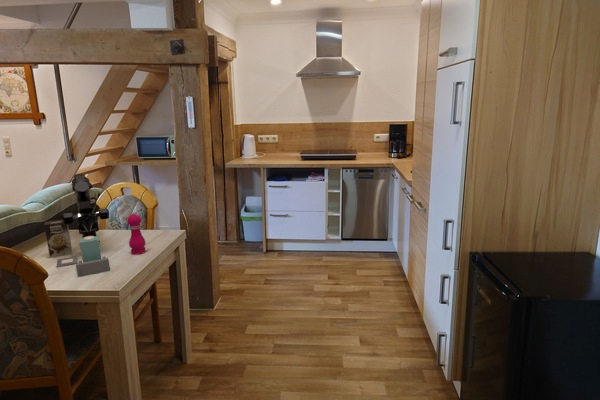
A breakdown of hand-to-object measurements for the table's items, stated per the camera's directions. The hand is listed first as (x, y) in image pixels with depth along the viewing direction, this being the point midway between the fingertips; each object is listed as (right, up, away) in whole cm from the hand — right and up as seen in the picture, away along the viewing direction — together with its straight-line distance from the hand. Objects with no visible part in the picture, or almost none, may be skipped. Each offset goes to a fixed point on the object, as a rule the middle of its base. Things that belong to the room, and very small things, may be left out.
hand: (89, 232), depth 178 cm
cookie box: (-17, -11, +8) cm, 22 cm away
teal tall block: (+6, -14, -7) cm, 17 cm away
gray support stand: (+8, -15, -11) cm, 20 cm away
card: (-9, -13, -2) cm, 16 cm away
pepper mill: (+19, -10, +8) cm, 23 cm away
